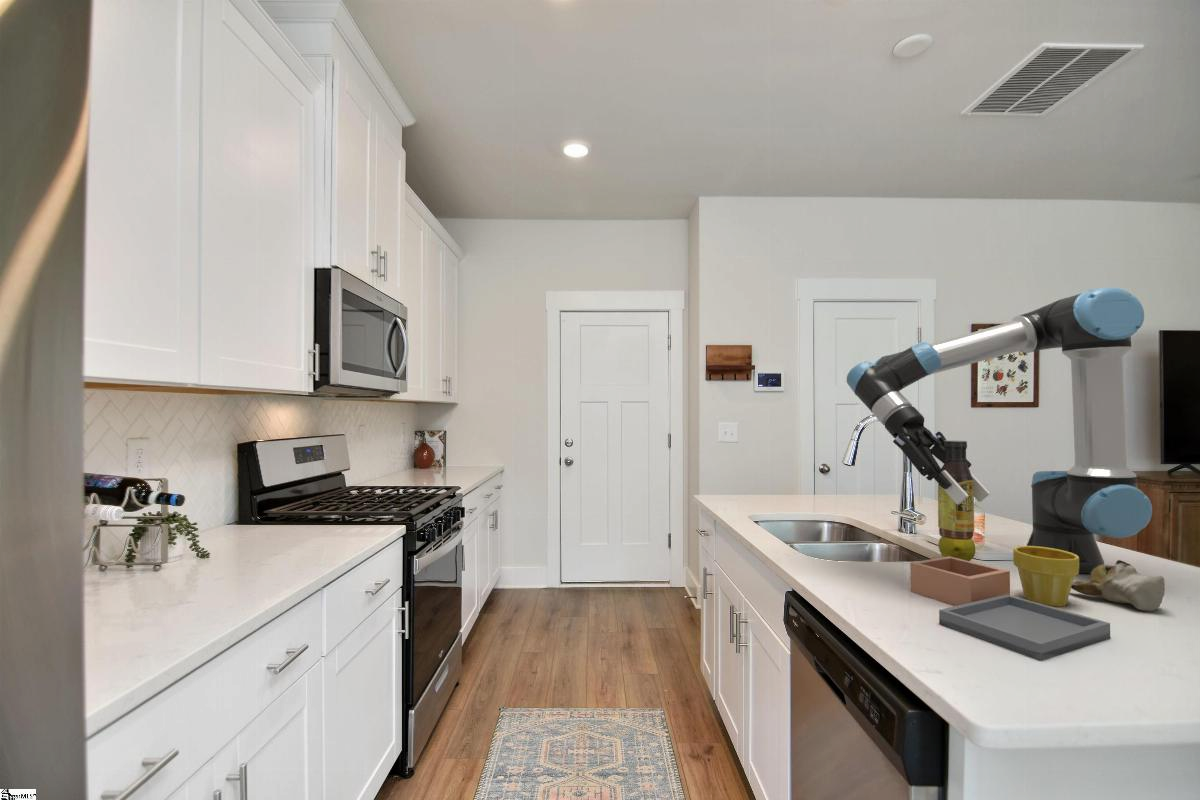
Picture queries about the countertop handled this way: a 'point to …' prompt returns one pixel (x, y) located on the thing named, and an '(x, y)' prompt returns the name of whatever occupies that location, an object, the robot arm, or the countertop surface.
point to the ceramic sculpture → (1123, 586)
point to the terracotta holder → (958, 580)
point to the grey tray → (1025, 626)
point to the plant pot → (1046, 573)
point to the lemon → (957, 548)
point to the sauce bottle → (950, 515)
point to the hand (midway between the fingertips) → (973, 498)
